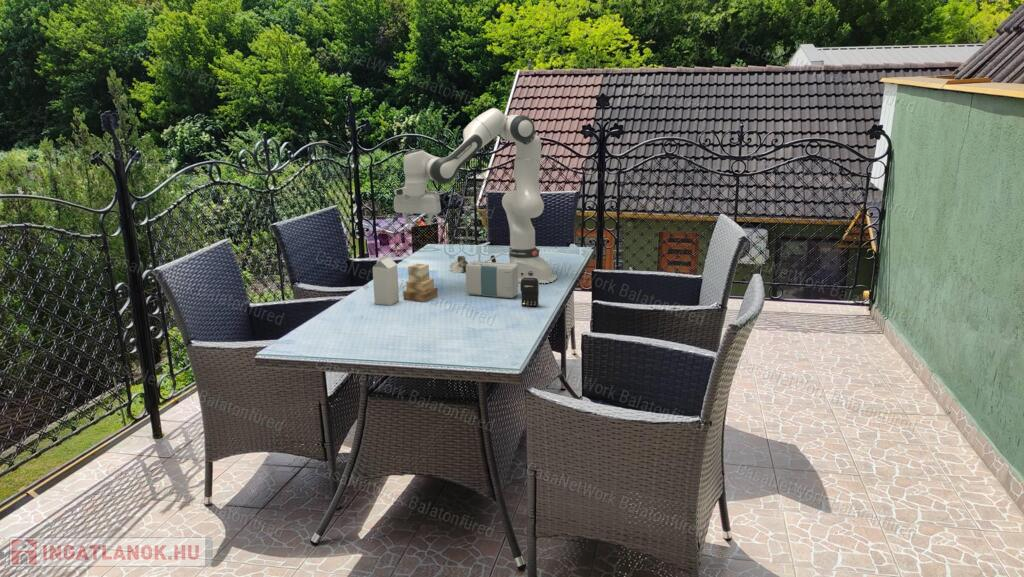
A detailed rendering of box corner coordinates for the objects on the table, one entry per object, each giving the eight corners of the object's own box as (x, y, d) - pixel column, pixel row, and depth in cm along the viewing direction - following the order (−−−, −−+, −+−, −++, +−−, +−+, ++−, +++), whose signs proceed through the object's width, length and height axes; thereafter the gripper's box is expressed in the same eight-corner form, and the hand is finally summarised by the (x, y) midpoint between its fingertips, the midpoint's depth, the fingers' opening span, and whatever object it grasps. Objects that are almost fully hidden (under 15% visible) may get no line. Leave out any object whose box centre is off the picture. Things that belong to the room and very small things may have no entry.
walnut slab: (437, 297, 283) (437, 287, 282) (425, 303, 274) (425, 293, 273) (416, 294, 287) (416, 285, 286) (403, 301, 278) (403, 291, 277)
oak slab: (433, 288, 281) (433, 278, 280) (424, 293, 274) (423, 283, 273) (416, 286, 284) (416, 277, 283) (406, 291, 277) (406, 281, 276)
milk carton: (399, 301, 276) (396, 254, 271) (390, 305, 270) (387, 258, 265) (383, 299, 278) (380, 253, 274) (374, 304, 272) (371, 257, 267)
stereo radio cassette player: (465, 295, 283) (464, 248, 278) (473, 290, 291) (472, 244, 285) (513, 300, 276) (512, 251, 271) (520, 295, 283) (519, 247, 278)
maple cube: (429, 279, 280) (428, 264, 278) (421, 282, 274) (420, 267, 273) (416, 277, 282) (416, 263, 281) (408, 281, 277) (407, 266, 275)
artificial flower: (499, 272, 328) (498, 254, 322) (453, 281, 323) (451, 263, 318) (494, 264, 335) (493, 246, 330) (449, 272, 330) (447, 254, 325)
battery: (519, 307, 266) (519, 278, 263) (522, 304, 270) (521, 276, 267) (537, 308, 264) (537, 279, 261) (539, 305, 268) (539, 276, 265)
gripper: (442, 189, 278) (444, 223, 282) (398, 188, 285) (400, 221, 289) (435, 191, 273) (437, 226, 276) (390, 190, 280) (392, 224, 283)
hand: (418, 224), depth 283 cm, fingers open, 8 cm apart
